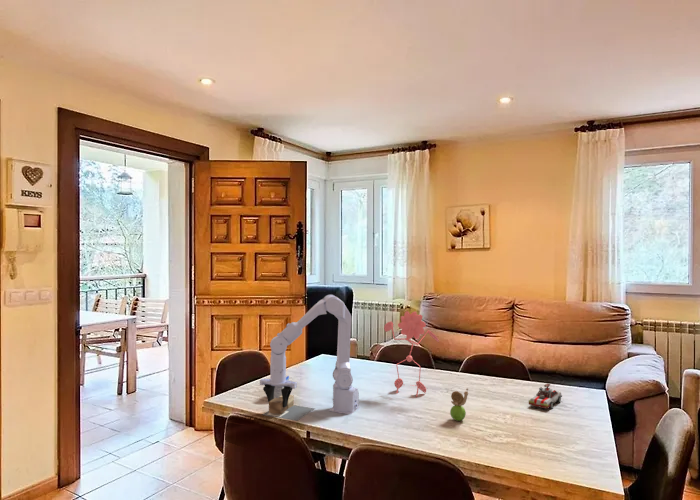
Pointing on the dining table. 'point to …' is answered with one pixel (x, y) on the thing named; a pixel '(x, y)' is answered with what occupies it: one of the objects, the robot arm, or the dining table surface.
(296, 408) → the mat
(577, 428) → the dining table surface
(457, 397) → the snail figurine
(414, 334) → the figurine
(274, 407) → the walnut brick
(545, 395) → the toy car
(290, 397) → the beech brick
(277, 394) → the medicine box
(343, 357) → the robot arm
